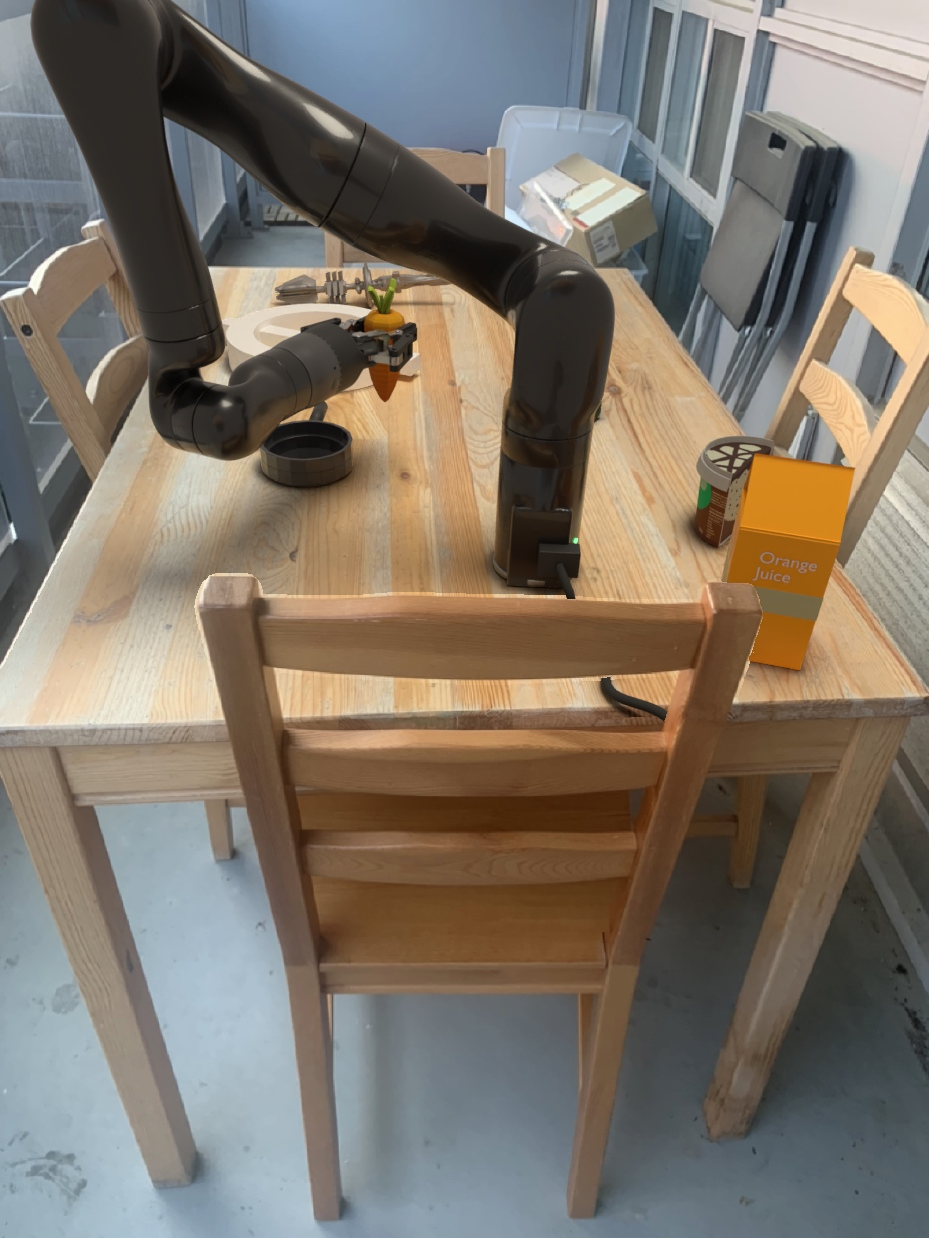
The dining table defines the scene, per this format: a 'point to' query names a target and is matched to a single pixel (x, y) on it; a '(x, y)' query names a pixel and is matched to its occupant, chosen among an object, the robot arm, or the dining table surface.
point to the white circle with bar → (291, 332)
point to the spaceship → (348, 286)
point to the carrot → (389, 322)
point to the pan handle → (319, 412)
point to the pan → (307, 453)
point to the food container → (724, 483)
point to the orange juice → (788, 548)
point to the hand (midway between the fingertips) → (394, 326)
